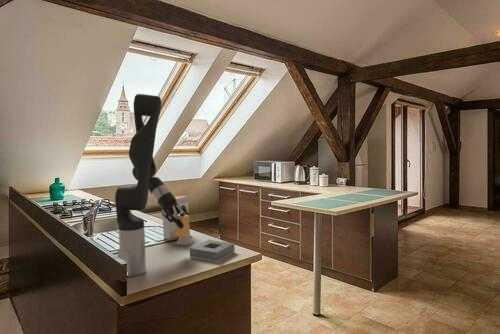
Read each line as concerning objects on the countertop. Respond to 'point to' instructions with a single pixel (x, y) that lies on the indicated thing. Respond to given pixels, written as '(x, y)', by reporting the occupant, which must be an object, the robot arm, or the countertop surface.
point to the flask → (184, 240)
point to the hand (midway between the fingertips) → (185, 226)
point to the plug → (185, 222)
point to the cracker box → (170, 226)
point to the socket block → (212, 250)
